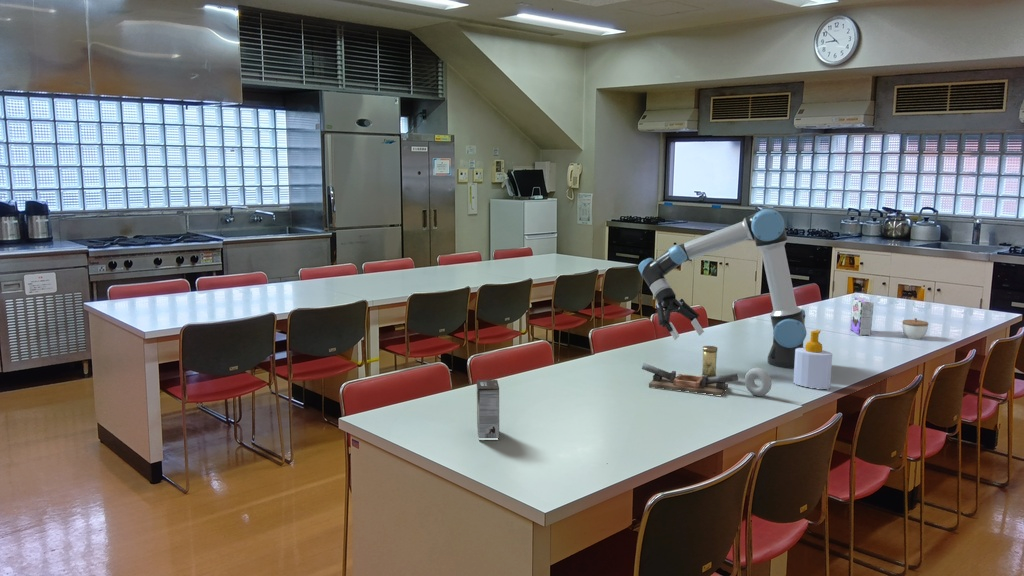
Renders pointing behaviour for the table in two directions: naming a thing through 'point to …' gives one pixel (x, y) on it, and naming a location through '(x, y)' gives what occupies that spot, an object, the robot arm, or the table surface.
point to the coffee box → (488, 408)
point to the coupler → (709, 361)
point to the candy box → (861, 316)
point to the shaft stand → (689, 381)
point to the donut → (764, 379)
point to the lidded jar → (915, 328)
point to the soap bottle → (813, 364)
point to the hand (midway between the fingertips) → (689, 335)
